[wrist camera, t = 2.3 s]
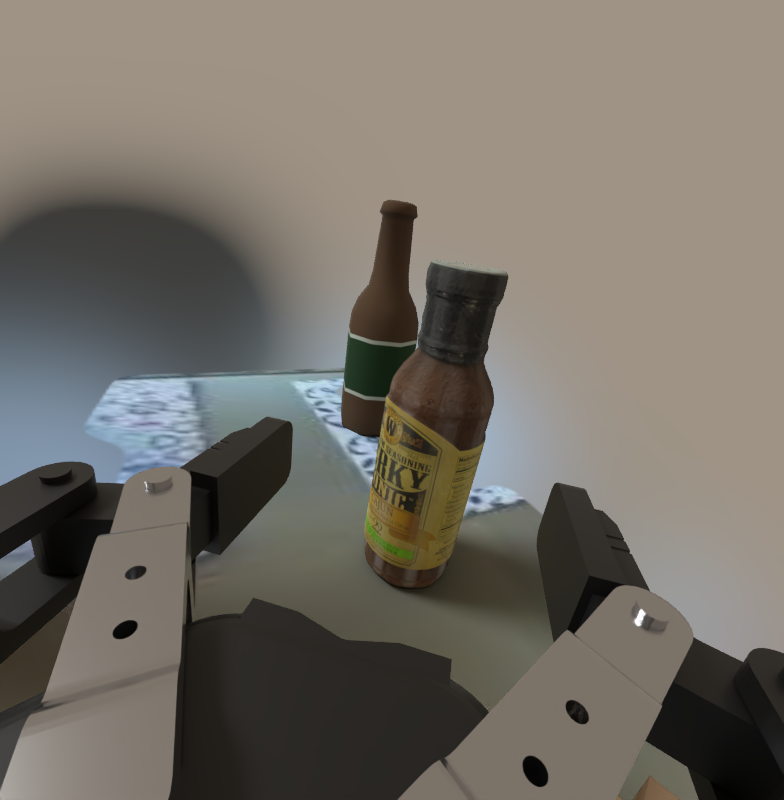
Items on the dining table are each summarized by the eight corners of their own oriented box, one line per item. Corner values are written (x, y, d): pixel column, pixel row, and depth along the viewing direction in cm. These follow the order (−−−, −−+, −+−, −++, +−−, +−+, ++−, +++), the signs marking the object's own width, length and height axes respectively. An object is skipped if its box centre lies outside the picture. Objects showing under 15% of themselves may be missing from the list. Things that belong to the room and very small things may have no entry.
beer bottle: (355, 442, 42) (386, 194, 33) (327, 412, 48) (346, 195, 39) (414, 433, 46) (456, 209, 37) (382, 406, 52) (410, 208, 43)
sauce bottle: (347, 538, 28) (383, 250, 21) (418, 520, 32) (472, 262, 24) (387, 610, 23) (454, 265, 16) (468, 580, 26) (555, 278, 19)
